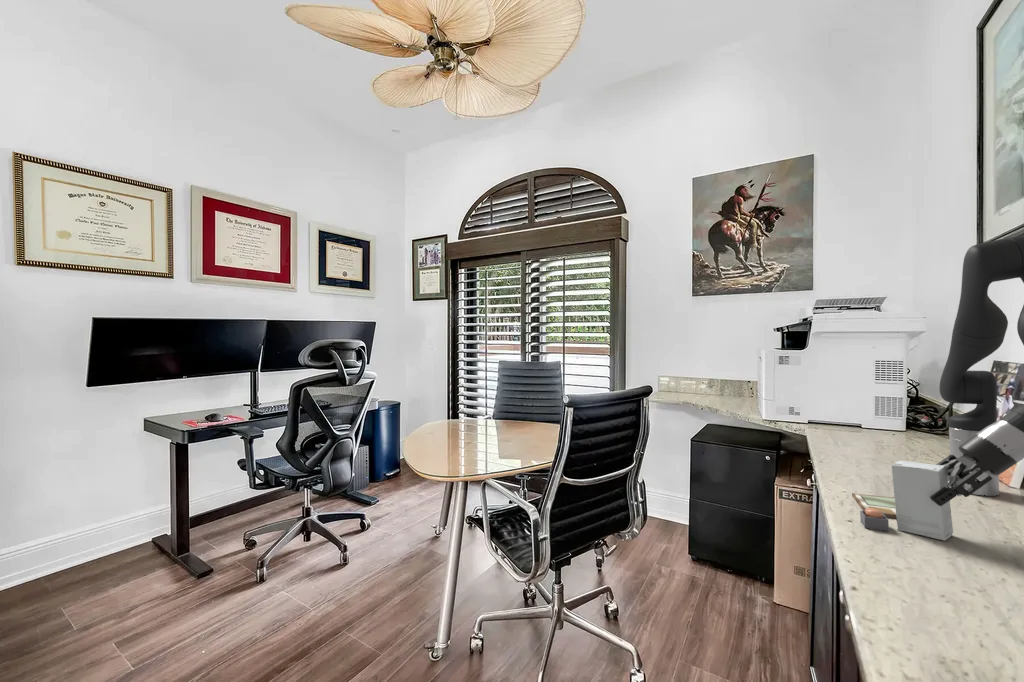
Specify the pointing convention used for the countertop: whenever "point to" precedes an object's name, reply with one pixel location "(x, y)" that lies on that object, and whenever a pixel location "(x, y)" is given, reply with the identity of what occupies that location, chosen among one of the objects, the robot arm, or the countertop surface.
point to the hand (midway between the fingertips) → (926, 495)
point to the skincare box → (921, 499)
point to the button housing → (874, 522)
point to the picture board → (877, 503)
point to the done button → (873, 513)
